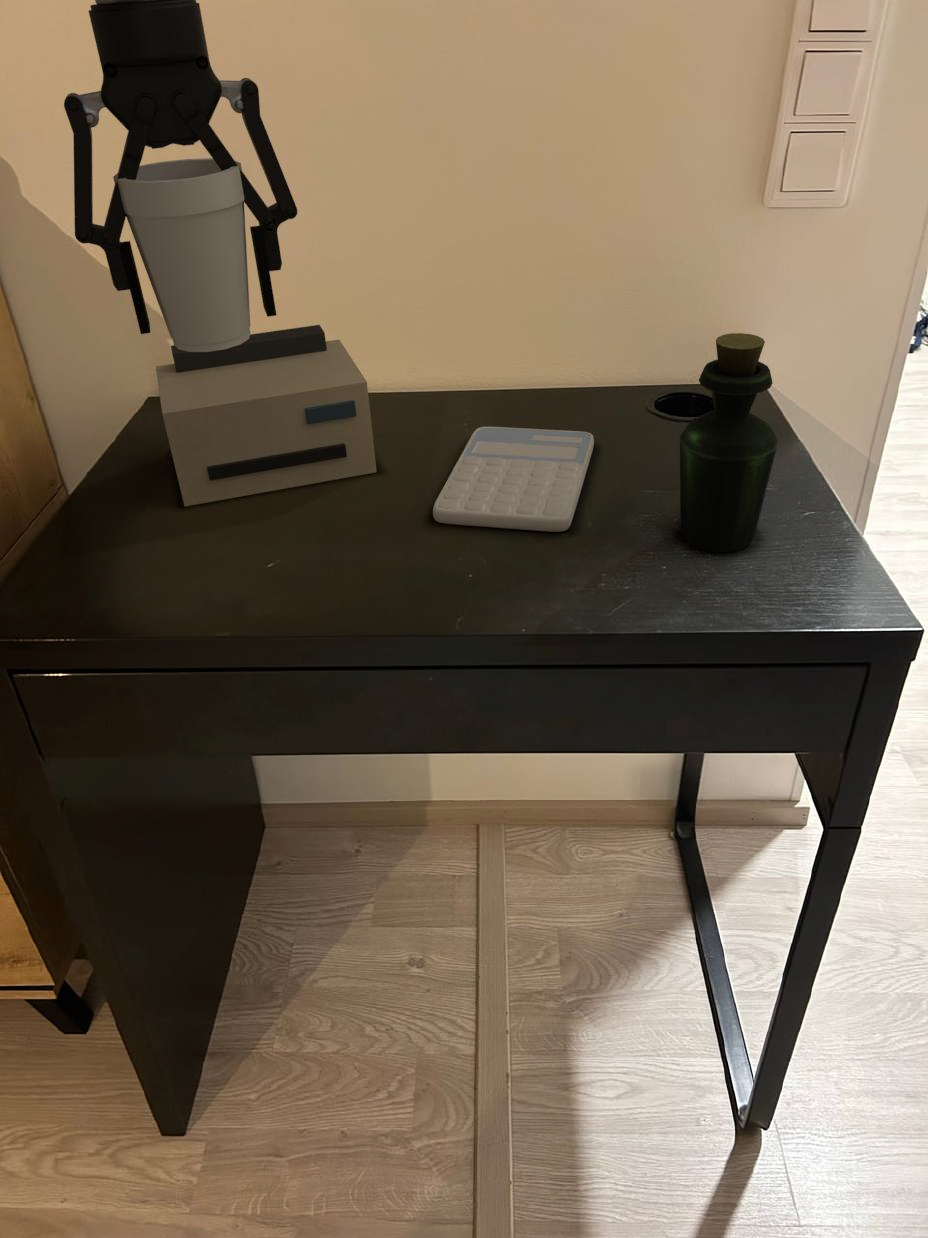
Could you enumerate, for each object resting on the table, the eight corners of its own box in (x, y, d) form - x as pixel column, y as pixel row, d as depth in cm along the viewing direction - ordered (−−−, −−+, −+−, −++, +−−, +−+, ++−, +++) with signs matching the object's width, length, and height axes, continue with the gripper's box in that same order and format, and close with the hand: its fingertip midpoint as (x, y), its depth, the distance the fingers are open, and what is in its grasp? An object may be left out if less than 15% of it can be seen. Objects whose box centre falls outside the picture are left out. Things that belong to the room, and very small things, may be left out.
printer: (184, 508, 96) (157, 394, 89) (176, 452, 108) (151, 347, 101) (377, 473, 101) (365, 363, 94) (349, 423, 112) (337, 321, 105)
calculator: (430, 525, 91) (428, 507, 90) (476, 438, 107) (475, 422, 106) (569, 535, 88) (569, 517, 87) (595, 444, 104) (596, 428, 103)
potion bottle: (763, 517, 89) (791, 326, 79) (763, 562, 83) (794, 360, 72) (674, 511, 91) (691, 322, 81) (668, 554, 85) (685, 356, 74)
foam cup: (292, 330, 80) (266, 161, 73) (212, 365, 74) (174, 185, 67) (212, 315, 85) (180, 155, 78) (131, 348, 79) (87, 177, 71)
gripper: (293, -15, 71) (332, 289, 84) (-22, 6, 67) (70, 325, 79) (309, -14, 65) (348, 314, 78) (-36, 9, 61) (66, 353, 74)
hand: (208, 319), depth 79 cm, fingers closed on foam cup, 9 cm apart
